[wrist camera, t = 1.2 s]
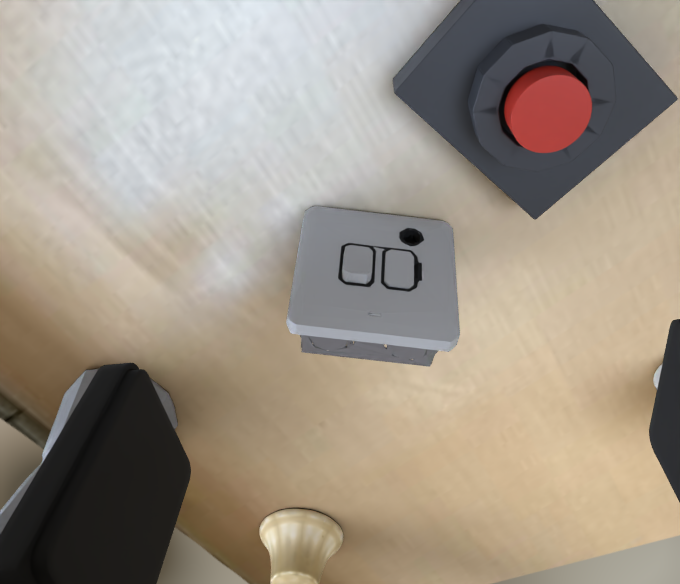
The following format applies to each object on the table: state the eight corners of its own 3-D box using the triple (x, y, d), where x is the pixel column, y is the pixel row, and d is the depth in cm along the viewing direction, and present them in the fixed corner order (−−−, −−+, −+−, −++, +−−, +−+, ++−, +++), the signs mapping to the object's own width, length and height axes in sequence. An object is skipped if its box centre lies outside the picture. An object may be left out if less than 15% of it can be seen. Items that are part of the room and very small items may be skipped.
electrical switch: (453, 218, 36) (469, 319, 29) (436, 282, 39) (447, 385, 32) (305, 201, 36) (284, 297, 28) (301, 266, 39) (281, 367, 32)
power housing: (392, 79, 31) (394, 103, 27) (521, -71, 27) (544, -67, 23) (524, 200, 35) (542, 235, 31) (656, 84, 31) (695, 109, 27)
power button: (488, 108, 28) (494, 119, 26) (548, 48, 26) (558, 56, 24) (536, 154, 29) (544, 168, 27) (596, 100, 27) (609, 111, 26)
